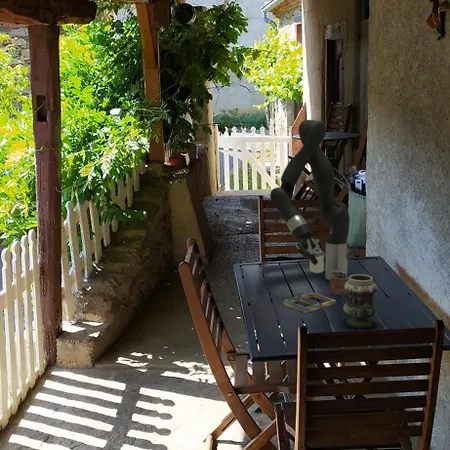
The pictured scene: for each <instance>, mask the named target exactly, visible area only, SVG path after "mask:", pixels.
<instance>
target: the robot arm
mask: <svg viewBox="0 0 450 450" xmlns="http://www.w3.org/2000/svg"><path fill="white" fill-rule="evenodd" d="M326 134H327V126H326V125H325V123H324V122H322V121H320V120H315V119H305V120H302V121H301V122H300V124H299V125H298V136H299V140H300V141H301V143H302V146H301V148H300V149H299V151H298V152H297V153H296V154H295V155H294V156H293V157H292V158H291V159H290V160H289V162H288V163H286V166H285V168H284V171H283V172H282V174H281V177H280V182H281V183H280V186H279V187H274V188H273V189H272V190H270V194H269V197H270V200H271V202H272V204H273V205H274V207H275V208H276V209H277V210H278V212H279V213H280V215H281V217H282V218H283V220H284V222H285V224H286V225H287V227H288V229H289V231H290V233H291V235H292V236H293V238H294V239H295V241H296V242H297V244H296V245H295V246H294V248H295V249H296V250H297V251H298V253H300V255H302V257H304V258H306V257H307V258H308V259H309V261H310V260H311V262H312V263H313V264H314V265H316V264H317V263H318V261H317V259H316V258H315V256H314V255H312V254H313V253H312V251H316V250H317V251H321V252H325V255H324V263H325V274H324V275H325V276H324V277H325V279H326V280H327V281H331V279H330V276H335V275H334V274H332V271H338V272H340V271H342V272H346V277H348V262H349V261H348V260H349V259H348V257H347V242H348V241H347V239H348V237H349V231H350V222H351V221H350V213H349V211H348V210H347V209H345V208H342V207H339V206H336V203H335V200H334V196H333V195H334V194H333V193H334V189H335V185H336V176H335V173H334V169H333V166H332V163H331V162H330V160H329V159H328V158H327V155H325V153H324V151H323V150H322V148H321V146H320V144H322V142H323V140H324V139H325V137H326ZM307 163H308V164H309V166H310V171H311V176H312V178H313V182H314V185H315V189H316V192H317V197H318V200H319V205H320V206H319V207H320V211H321V217H322V220H323V222H324V224H325V225H326V226H328V227H331V228H332V233H331V234H328V235H326V237H325V246H324V242H323V240H322V238H316V237H314V235H313V231H312V230H311V227H310V226H309V225H308V223H307V221H306V219H305V218H304V217H303V216H302V214H301V213H300V211H299V210H298V208H297V206H295V205H294V204H293V202H292V198H293V195H294V192H295V189H296V188H295V187H296V185H297V183H298V181H299V179H300V178H301V175H302V173H303V171H304V169H305V167H306V166H307ZM337 276H338V275H337ZM343 276H344V275H343Z"/></svg>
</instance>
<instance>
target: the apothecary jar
mask: <svg viewBox="0 0 450 450" xmlns="http://www.w3.org/2000/svg"><path fill="white" fill-rule="evenodd" d="M348 277H349V280H348V282H346V283H345V286H344V288H345V290H346V291H347V295H346V297H347V300H346V302H345V304H344V305H343V307H342V308H343V312H344V313H345V314H346V315H347V316H349V317H351V318H348V319H346V325H348V326H350V327H352V328H357V329H366V328H370V327H372V326H373V325H374V322H373V320H371V319H370V318H371V317H373V316H374V315H375V314H376V313H377V310H378V309H377V307H376V304H374V293H376V292H377V290H378V286H377V284H376V283H375V282H374V280H373V277H372V276H371V275H368V274H363V273H362V274H352V275H351V274H350V275H349V276H348Z"/></svg>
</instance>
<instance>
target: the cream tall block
mask: <svg viewBox="0 0 450 450" xmlns="http://www.w3.org/2000/svg"><path fill="white" fill-rule="evenodd" d="M324 252H325V251H323V252H321V251H318V250H316V251H312V253H313V254H312V255H314V256H315V258H316V259H317V261H318V263H317V264H316V265H314V264H313V263H312V262H311V260H310V259H309V272H311V273H314V274H319V273H323V272H324V270H325V269H324V268H325V266H324V265H325V264H324V263H325V262H324V256H325V253H324Z"/></svg>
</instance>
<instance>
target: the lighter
mask: <svg viewBox="0 0 450 450" xmlns="http://www.w3.org/2000/svg"><path fill="white" fill-rule="evenodd" d="M332 274H334V275H335V276H330V279H331V280H329V281H330V285H329V286H330V287H329V289H330V290H329V294H330V295H334V296H335V295H336V296H347V291H346V290H345V288H344V286H345V283H346V282H348V280H349V277H350V276H347V277H346V272H342V271H340V272H338V271H332ZM337 275H338V276H337ZM343 275H344V276H343Z"/></svg>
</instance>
